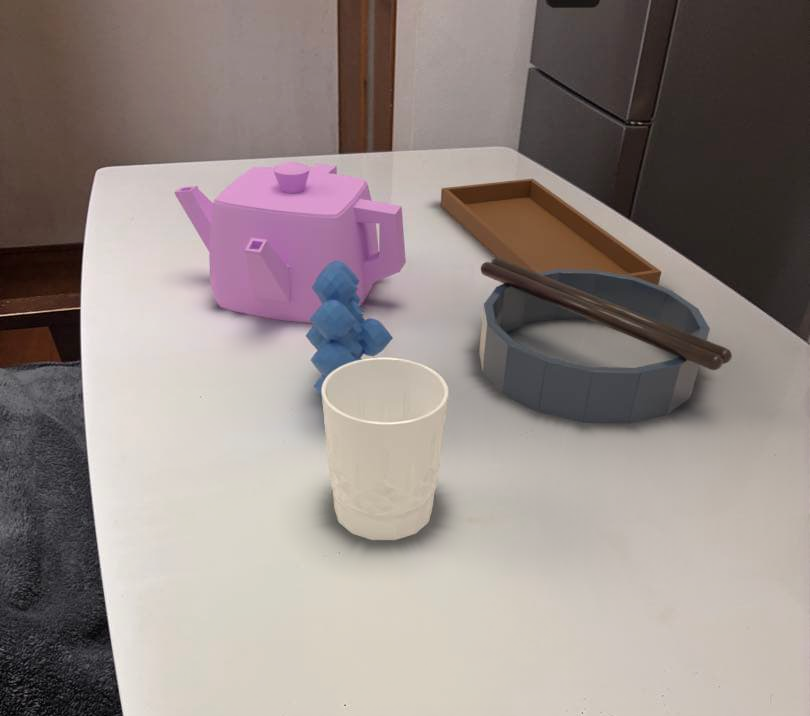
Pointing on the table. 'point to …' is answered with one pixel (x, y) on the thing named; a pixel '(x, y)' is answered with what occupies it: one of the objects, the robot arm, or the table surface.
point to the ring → (579, 384)
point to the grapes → (341, 323)
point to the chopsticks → (609, 314)
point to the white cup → (384, 444)
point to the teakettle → (292, 237)
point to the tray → (540, 230)
